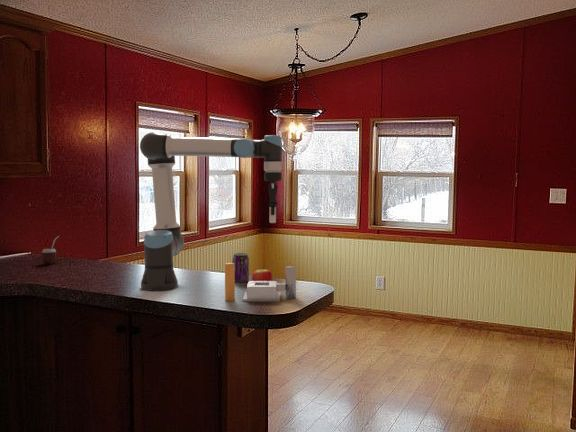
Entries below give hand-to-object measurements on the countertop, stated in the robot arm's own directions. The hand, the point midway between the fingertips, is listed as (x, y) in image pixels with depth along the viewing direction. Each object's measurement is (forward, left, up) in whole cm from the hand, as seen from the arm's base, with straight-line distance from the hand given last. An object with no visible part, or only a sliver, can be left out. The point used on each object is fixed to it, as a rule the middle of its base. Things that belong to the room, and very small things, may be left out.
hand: (272, 221), depth 258 cm
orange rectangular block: (-15, -34, -27) cm, 46 cm away
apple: (-4, -11, -27) cm, 29 cm away
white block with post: (0, -30, -27) cm, 40 cm away
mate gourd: (-116, +48, -27) cm, 129 cm away
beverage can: (-14, +3, -27) cm, 31 cm away
